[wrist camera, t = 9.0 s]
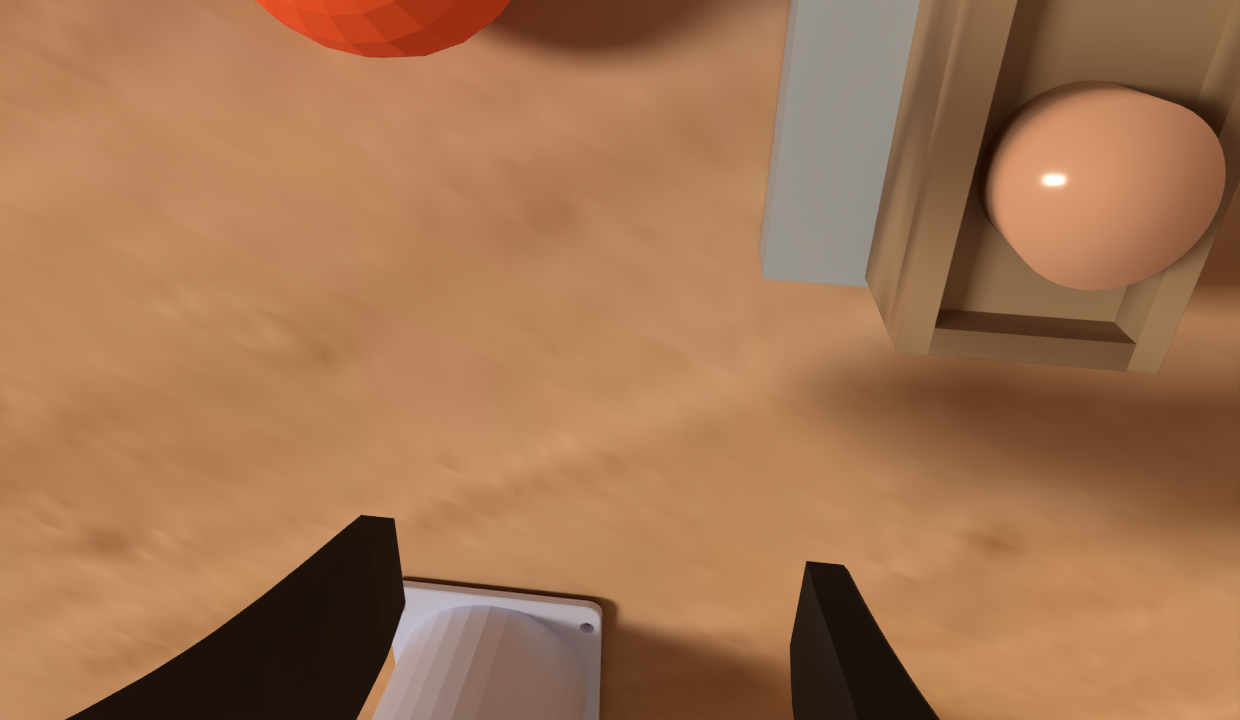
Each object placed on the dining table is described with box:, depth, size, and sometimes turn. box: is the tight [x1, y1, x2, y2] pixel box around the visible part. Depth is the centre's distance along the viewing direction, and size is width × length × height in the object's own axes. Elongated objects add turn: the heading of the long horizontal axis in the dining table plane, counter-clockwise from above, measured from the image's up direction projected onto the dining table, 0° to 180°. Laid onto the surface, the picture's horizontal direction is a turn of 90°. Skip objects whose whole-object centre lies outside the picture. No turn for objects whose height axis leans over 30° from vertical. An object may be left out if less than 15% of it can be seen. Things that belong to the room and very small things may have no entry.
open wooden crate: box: [865, 0, 1240, 374], centre depth 15 cm, size 8×5×4 cm, turn 178°
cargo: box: [978, 80, 1226, 290], centre depth 14 cm, size 3×3×2 cm
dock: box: [760, 0, 920, 287], centre depth 17 cm, size 9×10×3 cm
